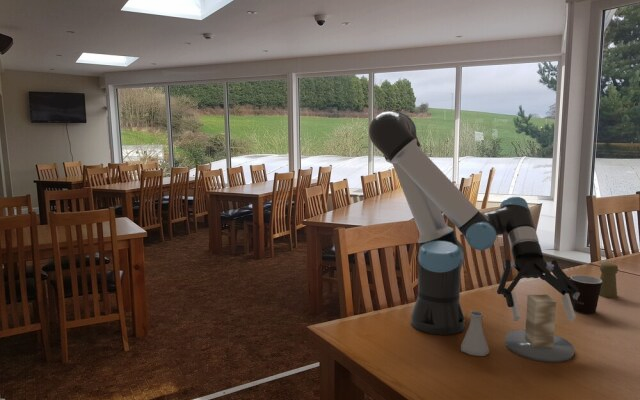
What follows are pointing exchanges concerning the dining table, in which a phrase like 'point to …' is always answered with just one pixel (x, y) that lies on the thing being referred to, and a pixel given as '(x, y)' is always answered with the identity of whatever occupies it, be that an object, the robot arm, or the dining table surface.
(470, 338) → the flask
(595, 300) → the coffee mug
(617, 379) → the dining table surface
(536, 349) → the plate
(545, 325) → the birch block
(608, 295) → the cork
